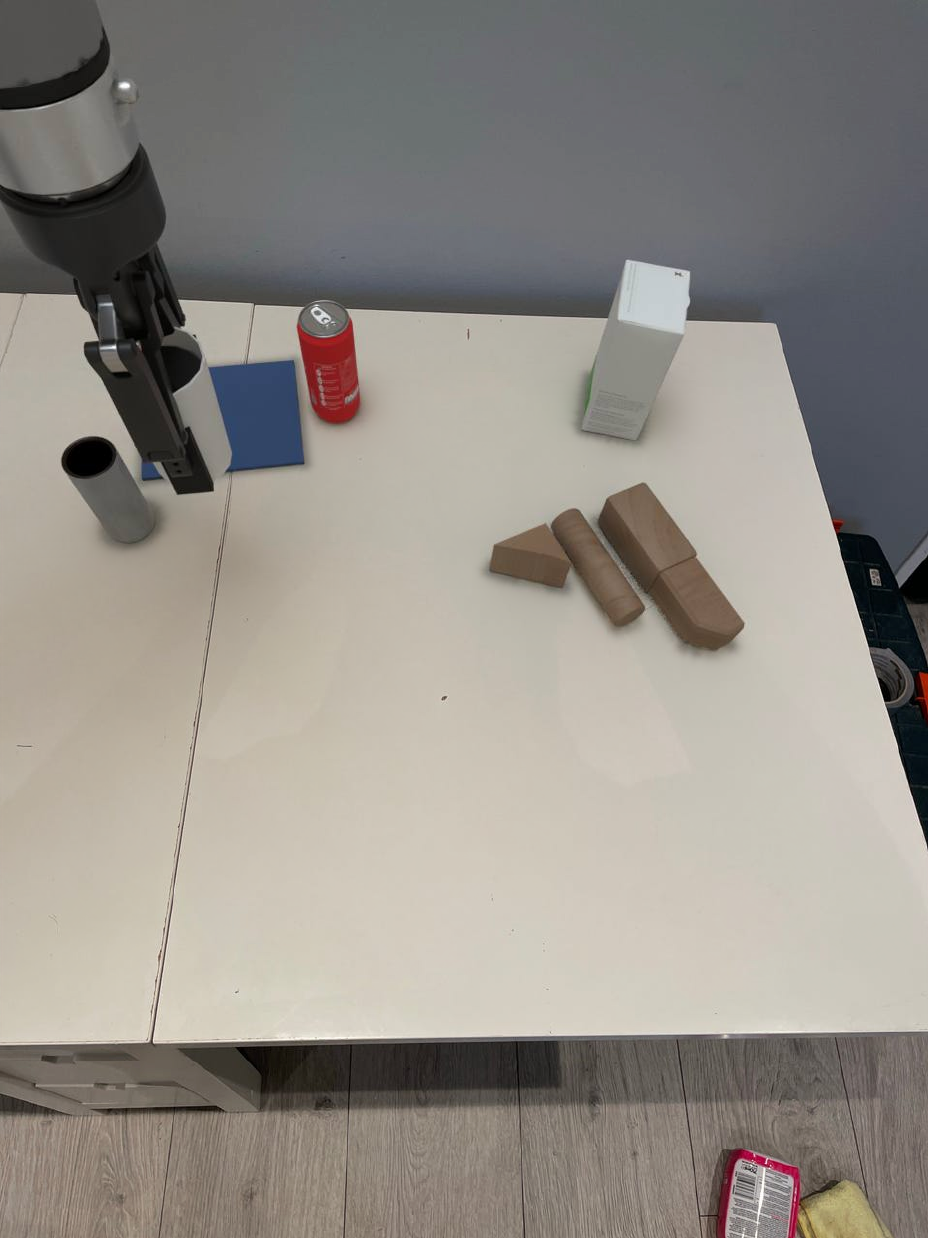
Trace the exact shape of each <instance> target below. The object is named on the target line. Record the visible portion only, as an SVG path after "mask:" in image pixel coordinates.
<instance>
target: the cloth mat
mask: <svg viewBox="0 0 928 1238" xmlns="http://www.w3.org/2000/svg"><path fill="white" fill-rule="evenodd" d="M295 367H296V366H295V360H294V359H290V360H289V359H288V360H277V361H265V362H254V363H241V364H231V365H222V366H221V365H219V366H208V368H209V372H210V376H211V379H212V383H213V386H214V390H215V394H216V397H217V401H218V404H219V408H220V412H221V415H222V419H223V422H224V426H225V430H226V433H227V437H228V440H229V444H230V447H231V451H232V457H231V462H230V465H229V467H228V468H227V470H226V471H225V473H231V472H238V471H239V472H240V471H248V470H249V471H250V470H258V469H259V470H260V469H269V468H278V467H286V466H296V465H297V466H298V465H304V464H305V458H304V457H305V456H304V447H303V438H302V428H301V427H302V426H301V418H300V406H299V397H298V386H297V377H296V368H295ZM163 479H164V478H163V477H162V476H161V475H160V474H159V472H158V470H157V469H156V467H155V465H154V464H153V463H144V462H143V460H142V459H141V481H152V480H163Z"/></svg>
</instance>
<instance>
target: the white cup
mask: <svg viewBox="0 0 928 1238" xmlns="http://www.w3.org/2000/svg"><path fill="white" fill-rule="evenodd" d="M174 329H175V331H174V333H173V334H171V335H168V336H165V337H163V341H162V346H161V348H160V352H161V355H162V358H163V361H164V364H165V368H166V371H167V374H168V377H169V380H170V383H171V386H172V390H173V396H174V398H175V401H176V403H177V405H178V409H179V412H180V415H181V418H182V421H183V424H184V428H186V427H189V426H190V428H191V431H192V433H193V435H194V438H195V440H196V442H197V445H198V447H199V450H200V452H201V454H202V457H203V459H204V461H205V464H206V466H207V468H208V471H209V473H210V476H211V478H212V480H213V482H215V481H216V480H218V479H219V478H221V477H223V476H224V474H225V473H226V472H225V471H226V470H227V468H228V467H229V465H230V462H231V457H232V451H231V447H230V444H229V440H228V437H227V433H226V430H225V426H224V422H223V419H222V415H221V412H220V408H219V404H218V401H217V397H216V394H215V390H214V386H213V383H212V379H211V376H210V372H209V368H208V367H209V365H208V362H207V358H206V355H205V351H204V349H203V346H202V344H201V343H202V342H200V340H199V339H198V338H197V339H196V338H195V337H194V336H193V335H194V334H192V333H191V332H190V331H188V330H185V329H182V328H181V329H180V328H177V327H175V326H174ZM153 464H154V465H155V467H156V469H157V470H158V472H159V474H160V475H161V476H162V477H163V479H164V480H165V481H166V482H167V483H169V484H171V482H170V480H169V478H168V476H167V474H166V472H165V470H164V468H163V466H162V464H161V462H153Z"/></svg>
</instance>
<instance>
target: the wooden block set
mask: <svg viewBox="0 0 928 1238" xmlns="http://www.w3.org/2000/svg"><path fill="white" fill-rule="evenodd" d="M654 493H655V492H653V490H652V489H651V488H650V486H649V485H648V484H647V483H646V482H640V483H638V484H636V485H633V486H631V487H628V488H625V489H623V490H621V491H618V492H616V493H614V494H611V495H609V496H607V498H606V499H605V501H604V503H603V506H602V509H601V511H600V514H599V515H598V518H597V525H598V526H599V527H600V529H601V530H602V532H603V533H604V535H605V536H606V538H607V539H608V541H609V542H610V543H611V545H612V546H613V548H614V549H615V551H616V552H617V554H618V555H619V556H620V558H621V559H622V561H623V562H624V564H625V566H626V567H627V569H628V570H629V571H630V572H631V574H632V575H633V577H634V578H635V580H636V582H637V583H638V584H639V586H640V587H641V588H642V590H643V591H644V592H645V593H649V594H650V596H651V597H652V599H653V600H654V602H655V603H656V605H657V607H658V608H659V609H660V611H661V612H662V613H663V615H664V616H665V618H666V619H667V620H668V622H669V623H670V625H671V626H672V628H673V629H674V631H675V632H676V634H677V635H678V636H679V638H680V639H681V640H682V641H684V642H685V643H687V644H690V645H694V646H697V647H700V648H703V649H708V650H711V651H717V650H719V649H721V648H723V647H725V646H727V645H729V644H730V643H731V642H732V641H733V640H734V639H735V638H736V637H737V636H738V635H739V634H740V633H741V632H742V631H743V630H744V628H745V625H746V624H745V622H744V619H742V617H741V616H740V615H739V613H738V612H737V610H736V609H735V608H734V606H733V605H732V603H731V602H730V601H729V599H728V598H727V596H725V594H724V593H723V592H722V590H721V589H720V587H719V586H718V585H717V583H716V582H715V580H714V579H713V578H712V577H711V575H710V573H708V571H707V570H706V568H705V566H703V565H702V563H701V562H700V560H699V559H698V557H697V556H698V553H697V550H696V548H694V546H693V544H692V543H691V541H689V539H688V538H687V537H686V535H685V534H684V533H683V531H682V530H681V528H680V527H679V525H678V524H677V523H676V521H675V520H674V519H673V517H672V516H671V515H670V513H669V512H668V511H667V509H666V508H665V507H664V505H663V504H662V503H661V501H660V500H659V498H657V496H656V494H654ZM572 565H574V566H575V567H576V569H577V570H578V572H579V574H580V575H581V577H582V579H583V580H584V581H585V583H586V584H587V586H588V587H589V589H590V590H591V592H592V593H593V595H594V597H595V598H596V599H597V601H598V602H599V605H601V607H602V609H603V610H604V612H605V614H606V615H607V616H608V618H609V619H610V621H611V622H612V624H613V625H614V627H617V628H620V627H624V626H627V625H628V624H630V623H633V621H636V620H637V619H638V618H639V617H640V616H642V614H643V613H644V612H645V611H646V605H645V604H644V602H643V601H642V600H641V598H640V597H639V595H638V594H637V592H636V591H635V589H634V588H633V586H632V585H631V584H630V582H629V581H628V579H627V578H626V576H625V575H624V573H623V572H622V570H621V569H620V567H619V566H618V564H617V563H616V561H615V560H614V558H613V557H612V556H611V554H610V553H609V551H608V549H607V548H606V546H605V545H604V544H603V542H602V541H601V540H600V537H598V535H597V534H596V532H595V531H594V529H593V528H592V527H591V525H590V524H589V522H588V521H587V519H586V517H585V516H584V514H583V513H582V511H581V510H580V509H578V508H575V507H573V508H568V509H567V510H565V511H562V512H561V513H559V514H558V515H557V516H555V518H554V519H553V520H552V522H551V524H550V527H549V526H548V524H547V523H546V522H545V523H543V524H540V525H537V526H535V527H533V528H530V529H528V530H525V531H523V532H521V533H519V534H516V535H513V536H511V537H509V538H506V539H503V540H502V541H499V542H497V543H495V544H493V547H492V552H491V558H490V563H489V567H488V571H490V572H494V573H497V574H502V575H506V576H511V577H515V578H519V579H522V580H527V581H532V582H536V583H540V584H543V585H548V586H553V587H557V588H560V589H563V587H564V585H565V583H566V580H567V577H568V575H569V571H570V569H571V566H572Z"/></svg>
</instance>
